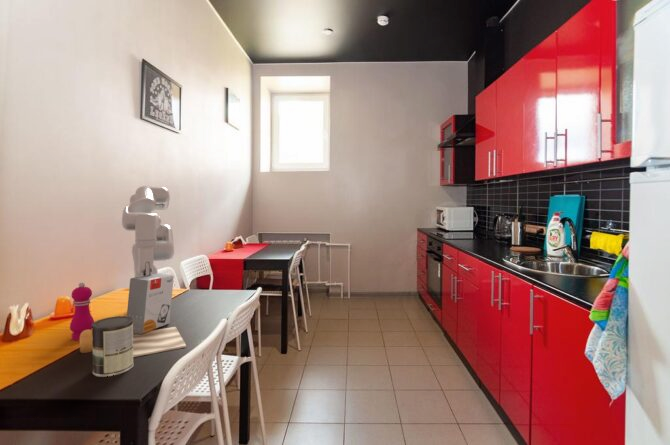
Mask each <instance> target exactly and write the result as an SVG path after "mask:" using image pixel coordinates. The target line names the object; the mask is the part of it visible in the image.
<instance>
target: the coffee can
mask: <svg viewBox="0 0 670 445" xmlns="http://www.w3.org/2000/svg"><path fill="white" fill-rule="evenodd" d="M91 330H92V345H93V351H92V375H94V376H95V377H100V378H104V377H105V378H107V376H108V377H113V375H114V376H119V375H121V374H123V373H126V372H128V371H130V370H131V369H132V368H133V367H134V357H133V318H132V317H128V316H127V315H126V316H125V315H124V316H123V315H119V316H111V317H110V316H109V317H106V318H101V319H98V320H96V321H94V323H92V329H91Z"/></svg>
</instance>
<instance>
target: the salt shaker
mask: <svg viewBox="0 0 670 445" xmlns="http://www.w3.org/2000/svg"><path fill="white" fill-rule="evenodd" d="M79 352H80V353H81V354H85V353H90V352H93V345H92V329H91V330H90V329H87V330H84V331H83V332H82V333H81V335H80V340H79Z"/></svg>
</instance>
